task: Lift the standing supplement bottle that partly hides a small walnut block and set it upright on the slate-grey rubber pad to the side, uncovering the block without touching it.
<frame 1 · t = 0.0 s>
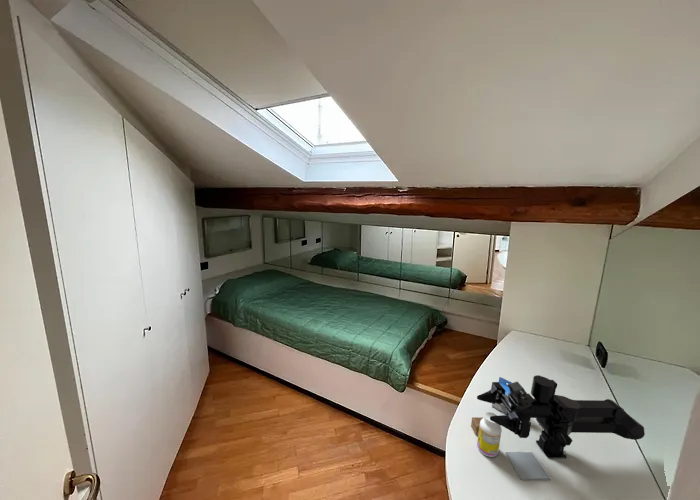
hand: (483, 407, 95), 17 cm above the table, tool horizontal, fingers open, 9 cm apart
label tape cartridge: (504, 411, 117), on the table
walnut block: (478, 430, 106), on the table
supplement bottle: (487, 449, 99), on the table
slate pad: (526, 466, 93), on the table
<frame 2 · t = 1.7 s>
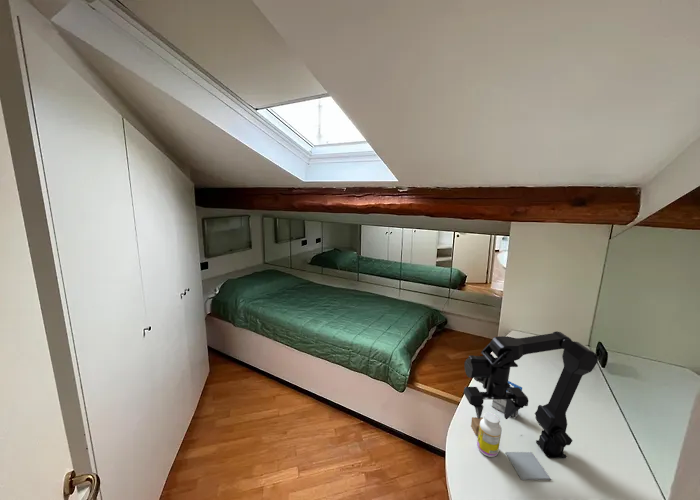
hand: (492, 418, 96), 12 cm above the table, tool pointing down, fingers open, 9 cm apart
nothing on the table moved.
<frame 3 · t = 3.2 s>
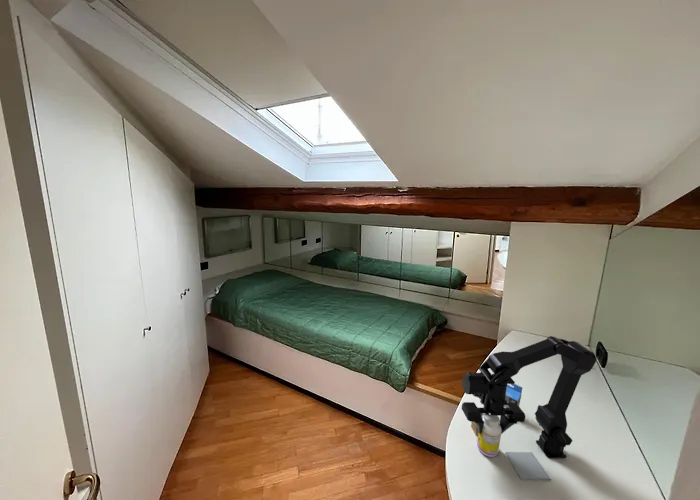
hand: (489, 433, 97), 7 cm above the table, tool pointing down, fingers closed on supplement bottle, 7 cm apart
supplement bottle: (487, 449, 99), on the table, touching gripper
everything else where it was.
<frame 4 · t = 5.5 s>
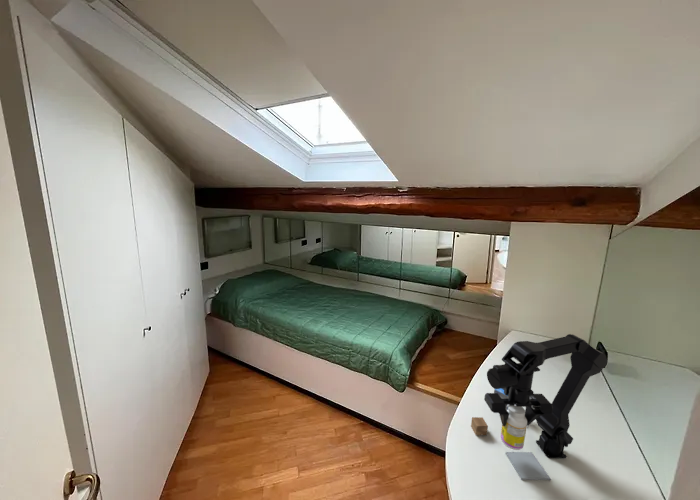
hand: (514, 425, 93), 13 cm above the table, tool pointing down, fingers closed on supplement bottle, 7 cm apart
supplement bottle: (511, 442, 94), point 6 cm above the table, touching gripper
everything else where it was.
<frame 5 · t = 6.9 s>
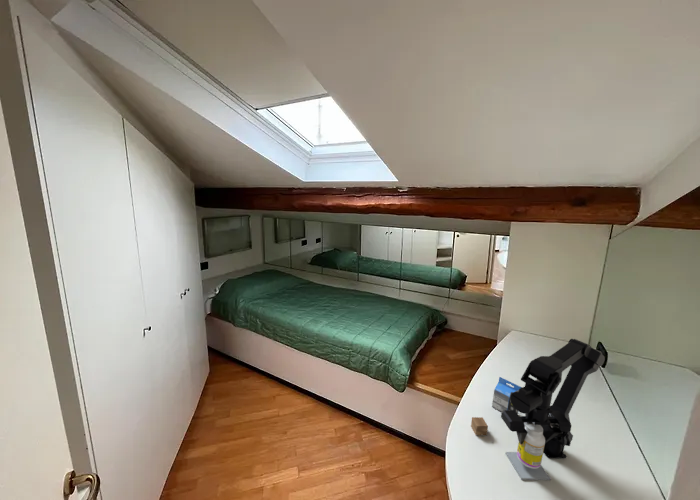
hand: (531, 443, 91), 9 cm above the table, tool pointing down, fingers closed on supplement bottle, 7 cm apart
supplement bottle: (528, 460, 93), point 2 cm above the table, touching gripper
everything else where it was.
when the fingers open (9 cm above the table, at t = 7.8 s): supplement bottle drops 1 cm, resting on slate pad.
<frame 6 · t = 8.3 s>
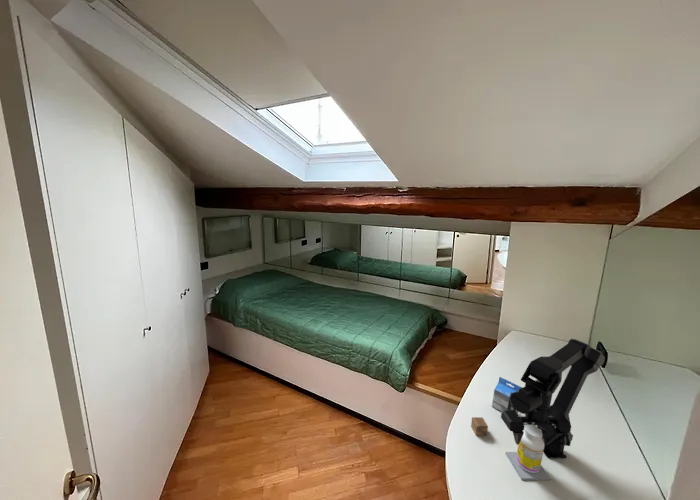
hand: (531, 443, 91), 9 cm above the table, tool pointing down, fingers open, 9 cm apart
supplement bottle: (527, 465, 93), resting on slate pad
everything else where it was.
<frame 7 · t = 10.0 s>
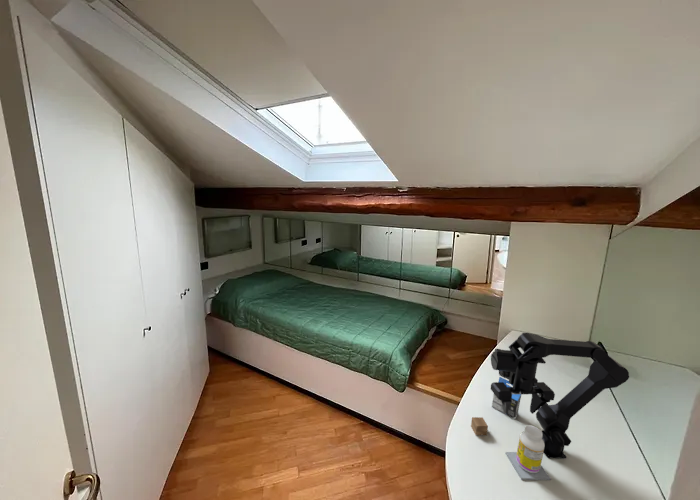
hand: (518, 412, 98), 13 cm above the table, tool pointing down, fingers open, 9 cm apart
nothing on the table moved.
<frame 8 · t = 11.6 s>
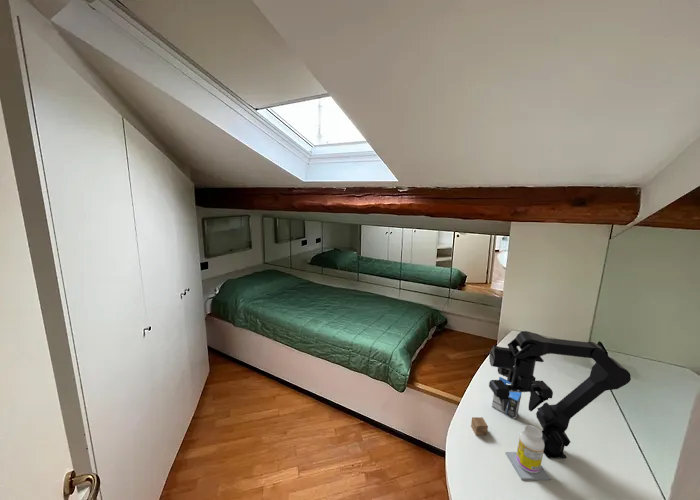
hand: (516, 410, 99), 13 cm above the table, tool pointing down, fingers open, 9 cm apart
nothing on the table moved.
at the end: supplement bottle 0.1 cm off-centre on the slate pad, point 0.4 cm above the slate pad's base; supplement bottle tilted 0°; walnut block moved 0.1 cm from its start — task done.
